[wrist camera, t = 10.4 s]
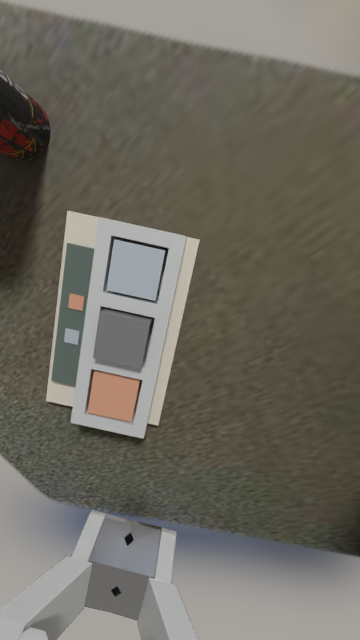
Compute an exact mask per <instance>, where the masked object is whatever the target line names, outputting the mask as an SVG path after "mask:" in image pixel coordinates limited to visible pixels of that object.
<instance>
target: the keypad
mask: <svg viewBox="0 0 360 640" xmlns="http://www.w3.org/2000/svg"><path fill="white" fill-rule="evenodd" d="M114 239H118V240H124V241H129V242H133V243H138V244H142V245H147V246H151V247H156V248H160V249H165V250H168V251H167V256H166V261H165V266H164V271H163V276H162V281H161V286H160V291H159V296H158V298H157V299H156V301H153V300H149V299H144V298H140V297H135V296H131V295H126V294H122V293H117V292H113V291H108V290H106V289H107V282H108V276H109V269H110V263H111V256H112V250H113V243H114ZM199 241H200V240H198V239H194V238H189V237H187V236H183V235H178V234H174V233H169V232H165V231H160V230H156V229H151V228H147V227H142V226H138V225H133V224H129V223H124V222H119V221H115V220H110V219H106V218H101V217H94V216H90V215H85V214H81V213H76V212H72V211H67V219H66V228H65V237H64V246H63V255H62V263H61V272H60V281H59V290H58V299H57V308H56V317H55V326H54V335H53V344H52V352H51V361H50V370H49V379H48V388H47V397H46V401H48V402H53V403H57V404H62V405H67V406H71V407H73V409H72V416H71V423H74V424H79V425H83V426H88V427H92V428H97V429H101V430H106V431H110V432H115V433H120V434H124V435H129V436H133V437H138V438H142V439H144V436H145V432H146V428H147V425H148V424H153V425H157V426H158V425H159V420H160V416H161V411H162V407H163V402H164V398H165V393H166V389H167V384H168V380H169V375H170V371H171V366H172V362H173V357H174V353H175V348H176V344H177V339H178V335H179V330H180V326H181V321H182V317H183V312H184V308H185V303H186V299H187V294H188V290H189V285H190V281H191V276H192V272H193V267H194V263H195V259H196V254H197V250H198V245H199ZM106 307H108V308H112V309H117V310H121V311H126V312H130V313H135V314H139V315H144V316H148V317H153V322H152V327H151V332H150V337H149V342H148V347H147V352H146V357H145V361H144V363H143V366H142V368H141V369H139V368H134V367H130V366H125V365H121V364H116V363H112V362H107V361H103V360H98V359H94V358H93V355H94V349H95V342H96V335H97V329H98V322H99V315H100V311H102V310H103V309H105V308H106ZM95 370H98V371H103V372H107V373H112V374H117V375H121V376H126V377H130V378H135V379H139V380H142V382H141V387H140V392H139V397H138V402H137V407H136V411H135V414H134V417H133V420H132V422H128V421H124V420H119V419H115V418H110V417H106V416H101V415H97V414H92V413H88V406H89V400H90V393H91V387H92V380H93V374H94V371H95Z"/></svg>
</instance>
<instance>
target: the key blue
mask: <svg viewBox="0 0 360 640" xmlns="http://www.w3.org/2000/svg"><path fill="white" fill-rule="evenodd" d="M167 251H168V250H165V249H160V248H156V247H151V246H147V245H142V244H138V243H133V242H129V241H124V240H118V239H114V243H113V250H112V256H111V263H110V269H109V276H108V282H107V289H106V290H108V291H113V292H117V293H122V294H126V295H131V296H135V297H140V298H144V299H149V300H153V301H156V299H157V298H158V296H159V291H160V286H161V281H162V276H163V271H164V266H165V261H166V256H167Z"/></svg>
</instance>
